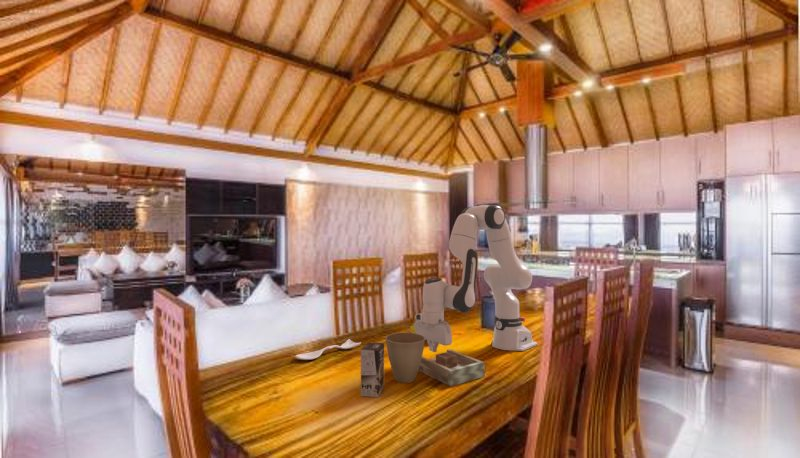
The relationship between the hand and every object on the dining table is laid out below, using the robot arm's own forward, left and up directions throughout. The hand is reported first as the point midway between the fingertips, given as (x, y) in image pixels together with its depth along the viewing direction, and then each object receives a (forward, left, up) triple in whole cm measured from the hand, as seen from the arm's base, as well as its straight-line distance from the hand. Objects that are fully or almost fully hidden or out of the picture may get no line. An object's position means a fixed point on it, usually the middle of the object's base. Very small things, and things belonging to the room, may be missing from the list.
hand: (433, 351), depth 171 cm
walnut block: (0, +8, -4) cm, 9 cm away
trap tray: (0, +9, -6) cm, 11 cm away
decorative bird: (-26, -35, -7) cm, 45 cm away
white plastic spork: (+29, -41, -7) cm, 50 cm away
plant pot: (+18, +5, -7) cm, 20 cm away
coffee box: (+34, +8, -7) cm, 35 cm away
